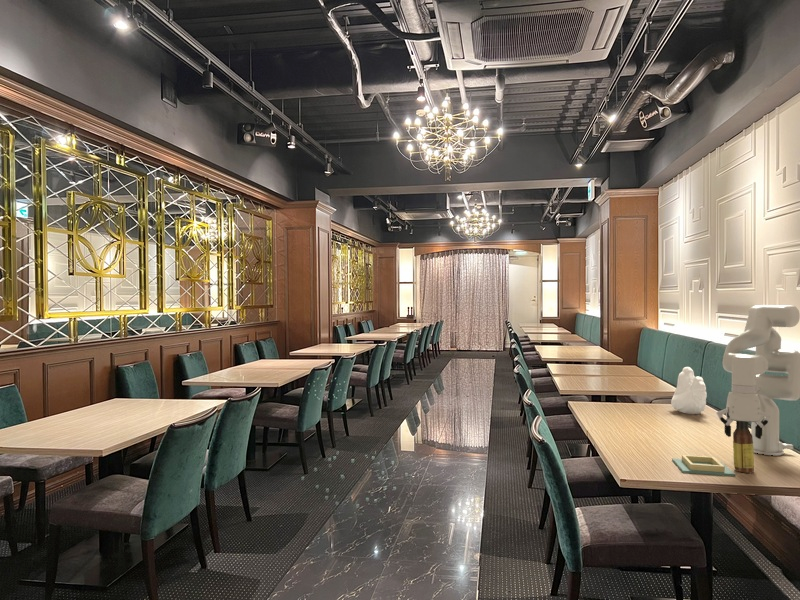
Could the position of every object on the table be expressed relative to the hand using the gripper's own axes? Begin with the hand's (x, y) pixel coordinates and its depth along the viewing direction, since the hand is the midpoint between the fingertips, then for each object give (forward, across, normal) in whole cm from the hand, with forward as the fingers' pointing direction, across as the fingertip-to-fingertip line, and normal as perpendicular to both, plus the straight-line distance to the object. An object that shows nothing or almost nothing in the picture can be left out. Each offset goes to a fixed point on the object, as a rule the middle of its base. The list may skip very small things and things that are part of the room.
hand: (743, 436), depth 197 cm
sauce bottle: (+13, 0, -1) cm, 13 cm away
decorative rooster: (+10, -9, -102) cm, 103 cm away
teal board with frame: (+13, +13, -1) cm, 18 cm away
